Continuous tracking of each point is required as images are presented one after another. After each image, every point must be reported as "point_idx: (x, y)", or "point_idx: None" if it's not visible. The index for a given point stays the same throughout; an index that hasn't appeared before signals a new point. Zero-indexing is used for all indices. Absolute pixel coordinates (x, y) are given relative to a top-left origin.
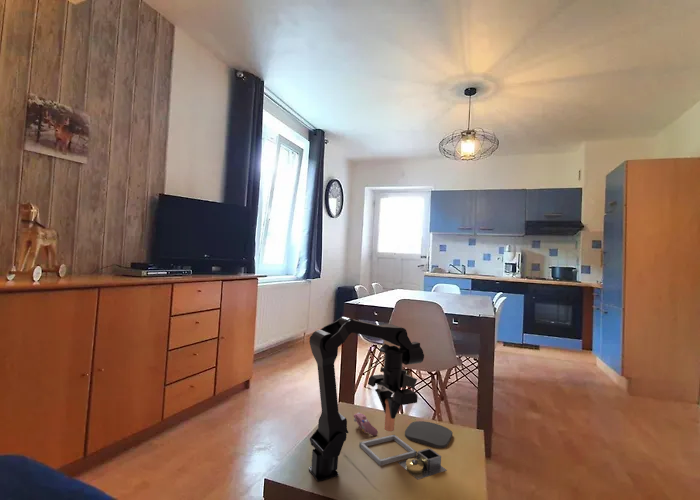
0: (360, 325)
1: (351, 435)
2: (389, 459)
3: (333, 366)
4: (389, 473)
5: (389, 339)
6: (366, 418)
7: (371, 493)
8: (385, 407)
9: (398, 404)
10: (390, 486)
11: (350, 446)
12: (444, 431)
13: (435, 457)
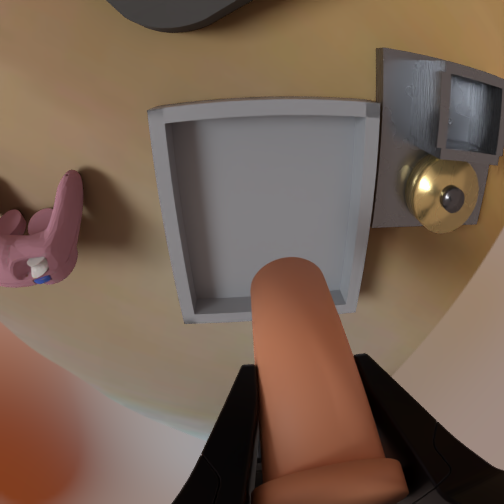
0: None
1: (71, 281)
2: (362, 270)
3: None
4: (384, 273)
5: None
6: (19, 257)
7: (412, 349)
8: (256, 445)
9: (455, 471)
10: (428, 300)
11: (156, 319)
12: None
13: (502, 114)
